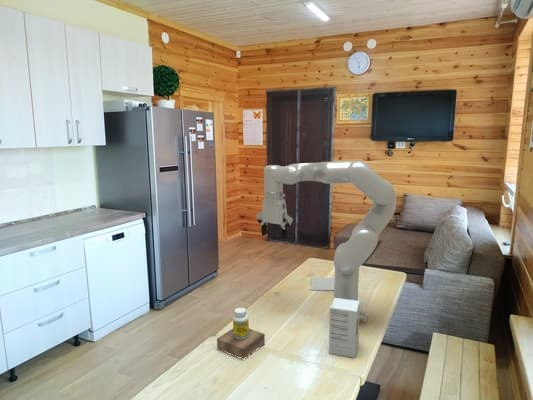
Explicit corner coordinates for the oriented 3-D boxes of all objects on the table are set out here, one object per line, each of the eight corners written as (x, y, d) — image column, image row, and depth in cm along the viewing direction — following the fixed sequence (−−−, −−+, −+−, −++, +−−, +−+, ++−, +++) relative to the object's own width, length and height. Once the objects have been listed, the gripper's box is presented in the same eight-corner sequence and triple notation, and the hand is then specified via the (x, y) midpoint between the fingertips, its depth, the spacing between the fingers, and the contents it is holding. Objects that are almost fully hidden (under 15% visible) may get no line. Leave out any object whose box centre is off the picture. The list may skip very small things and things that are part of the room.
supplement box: (355, 359, 129) (357, 312, 126) (328, 354, 132) (329, 307, 129) (359, 344, 138) (360, 300, 135) (333, 340, 141) (334, 296, 138)
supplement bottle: (247, 331, 140) (246, 305, 138) (250, 338, 135) (249, 312, 133) (232, 333, 138) (231, 307, 137) (235, 341, 133) (234, 314, 132)
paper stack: (356, 279, 200) (356, 278, 200) (363, 299, 176) (363, 298, 176) (311, 278, 202) (311, 277, 202) (311, 298, 178) (311, 296, 178)
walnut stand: (264, 344, 138) (264, 333, 138) (244, 360, 129) (243, 349, 128) (238, 334, 145) (238, 324, 145) (217, 349, 136) (216, 338, 135)
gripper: (296, 196, 155) (296, 237, 157) (261, 193, 164) (262, 232, 167) (287, 198, 148) (287, 241, 151) (251, 195, 158) (251, 235, 161)
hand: (274, 236), depth 159 cm, fingers open, 9 cm apart
